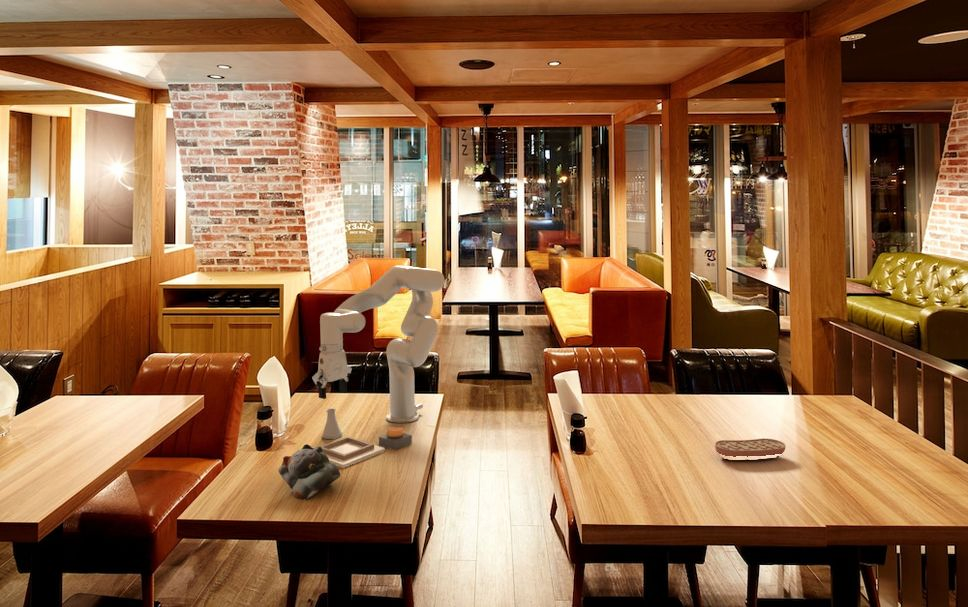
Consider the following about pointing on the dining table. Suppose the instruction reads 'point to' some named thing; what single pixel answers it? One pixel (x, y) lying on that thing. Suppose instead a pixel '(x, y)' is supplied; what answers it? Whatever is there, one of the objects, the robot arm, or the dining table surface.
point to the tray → (349, 451)
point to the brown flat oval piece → (750, 447)
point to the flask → (331, 426)
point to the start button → (395, 432)
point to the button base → (395, 441)
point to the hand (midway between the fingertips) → (333, 395)
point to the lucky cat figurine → (308, 471)
